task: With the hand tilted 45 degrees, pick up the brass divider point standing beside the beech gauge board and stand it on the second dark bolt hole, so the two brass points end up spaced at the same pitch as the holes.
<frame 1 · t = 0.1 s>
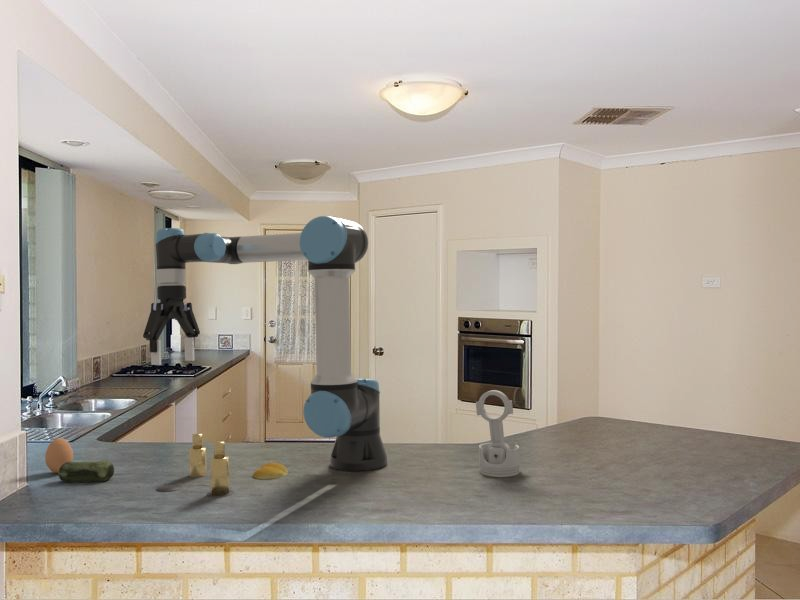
hand: (173, 362, 188), 28 cm above the counter, tool pointing down, fingers open, 13 cm apart
engine component: (497, 472, 173), on the counter
vegetable: (85, 481, 173), on the counter
gauge board: (194, 496, 156), on the counter
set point: (220, 493, 154), point 1 cm above the counter, touching gauge board
egg: (59, 473, 181), on the counter
moving point: (198, 480, 170), on the counter
bread roll: (270, 481, 170), on the counter
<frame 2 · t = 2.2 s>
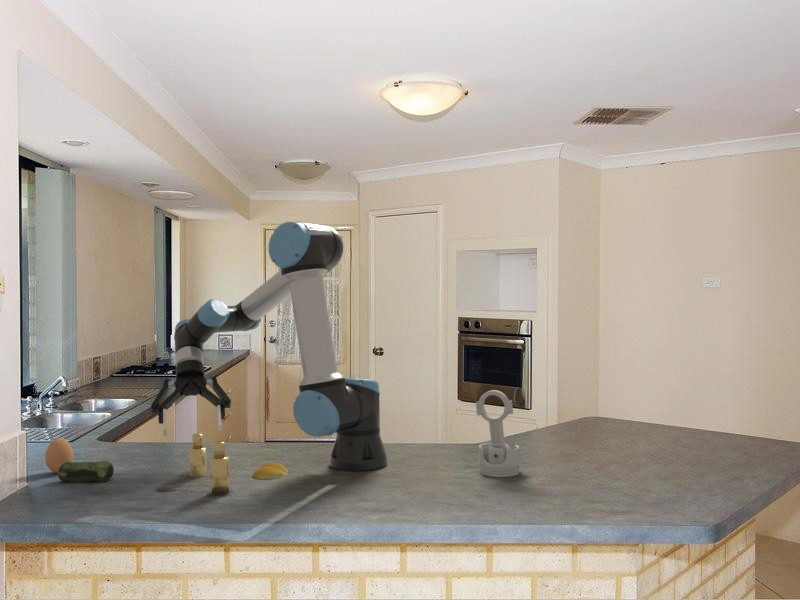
hand: (192, 430, 177), 11 cm above the counter, tool tilted 45°, fingers open, 13 cm apart
nothing on the counter moved.
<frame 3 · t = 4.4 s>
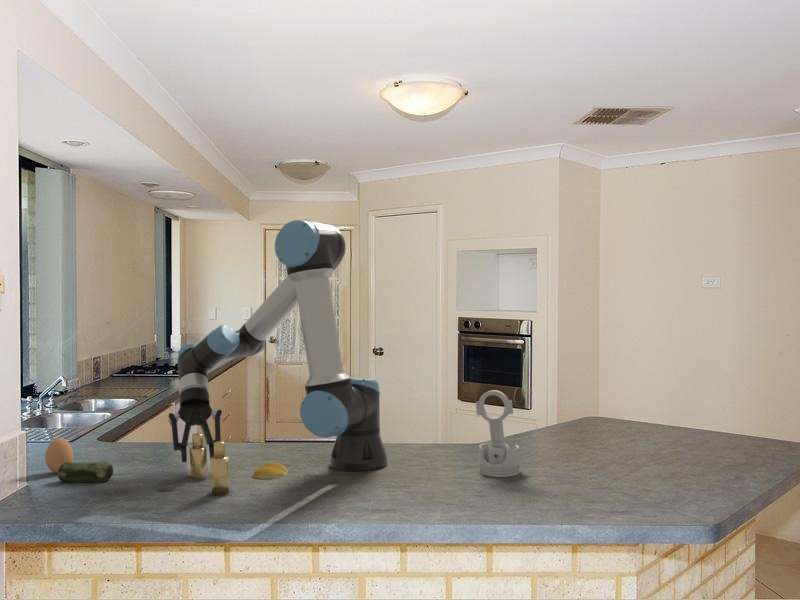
hand: (198, 471, 167), 3 cm above the counter, tool tilted 45°, fingers closed on moving point, 4 cm apart
moving point: (198, 480, 170), on the counter, touching gripper
everything else where it was.
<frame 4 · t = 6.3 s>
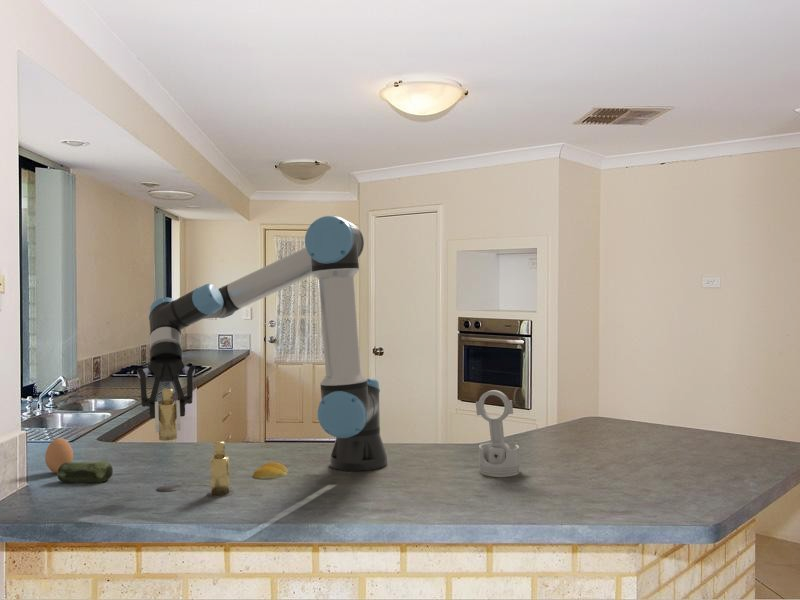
hand: (167, 427, 155), 16 cm above the counter, tool tilted 45°, fingers closed on moving point, 4 cm apart
moving point: (168, 438, 159), point 13 cm above the counter, touching gripper
everything else where it was.
when the fingers open (5 cm above the counter, at t = 8.4 s): moving point stays where it is, resting on gauge board.
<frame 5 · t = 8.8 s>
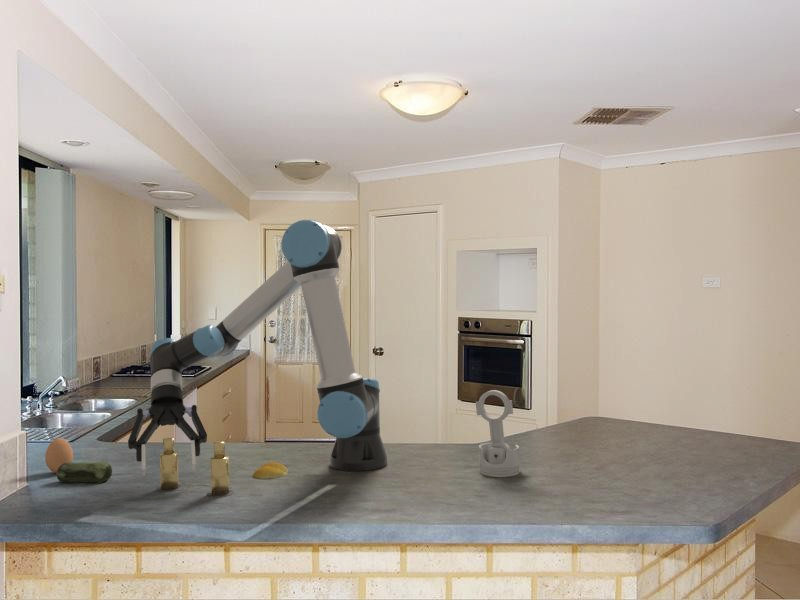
hand: (169, 469, 156), 6 cm above the counter, tool tilted 45°, fingers open, 10 cm apart
moving point: (169, 488, 159), point 1 cm above the counter, touching gauge board
everything else where it was.
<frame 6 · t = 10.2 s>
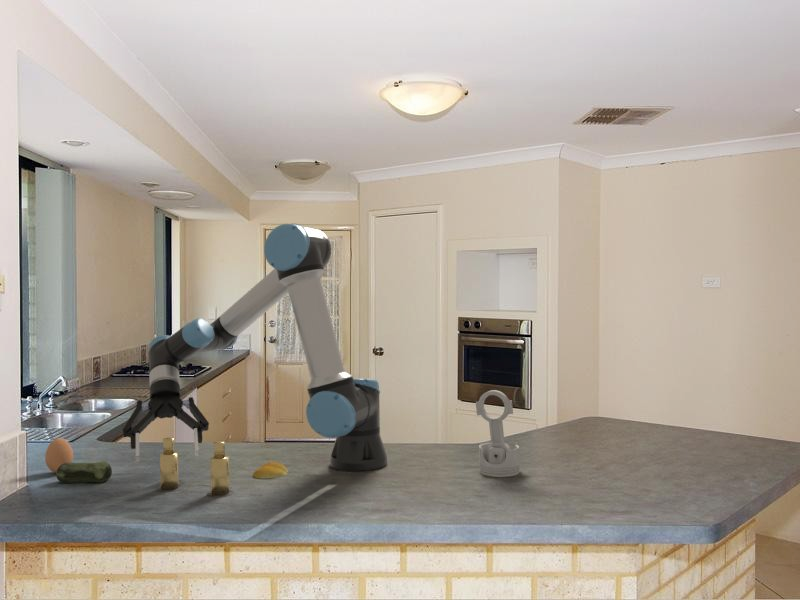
hand: (167, 456, 166), 7 cm above the counter, tool tilted 45°, fingers open, 13 cm apart
nothing on the counter moved.
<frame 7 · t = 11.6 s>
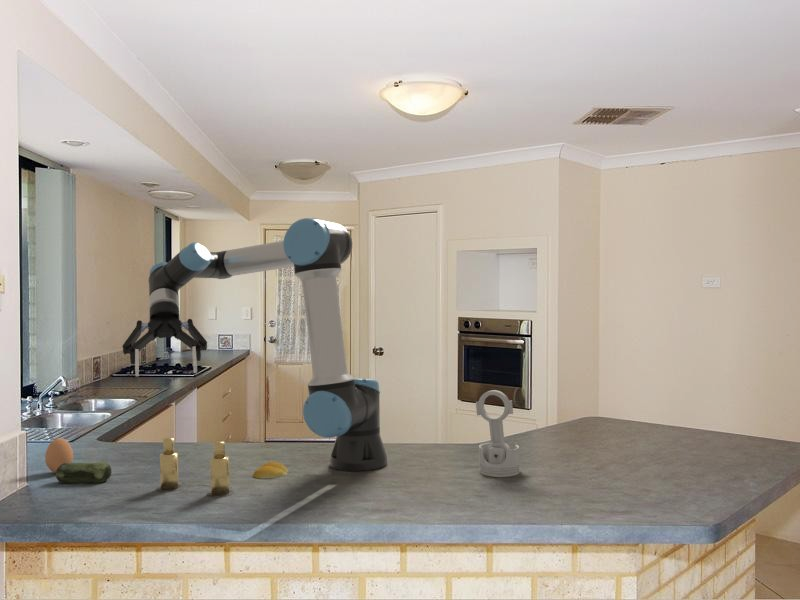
hand: (166, 371, 169), 27 cm above the counter, tool tilted 45°, fingers open, 13 cm apart
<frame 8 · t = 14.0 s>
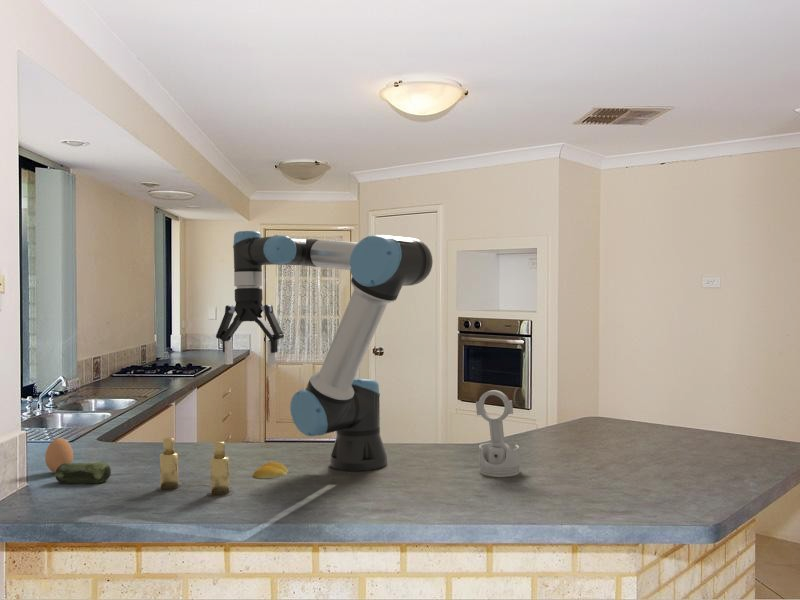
hand: (250, 364, 189), 27 cm above the counter, tool pointing down, fingers open, 13 cm apart
at the end: moving point tilted 0°; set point moved 0.0 cm from its start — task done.
